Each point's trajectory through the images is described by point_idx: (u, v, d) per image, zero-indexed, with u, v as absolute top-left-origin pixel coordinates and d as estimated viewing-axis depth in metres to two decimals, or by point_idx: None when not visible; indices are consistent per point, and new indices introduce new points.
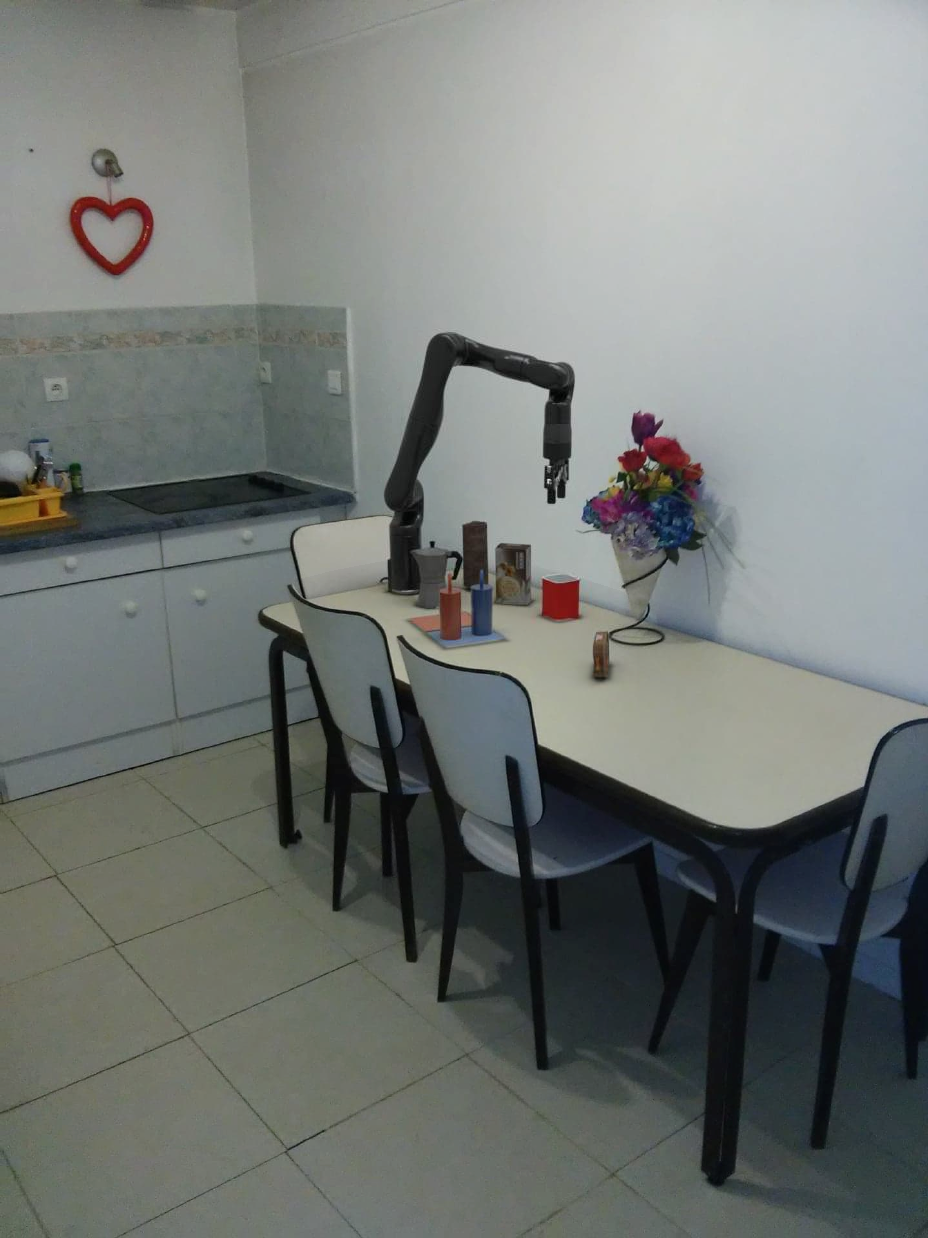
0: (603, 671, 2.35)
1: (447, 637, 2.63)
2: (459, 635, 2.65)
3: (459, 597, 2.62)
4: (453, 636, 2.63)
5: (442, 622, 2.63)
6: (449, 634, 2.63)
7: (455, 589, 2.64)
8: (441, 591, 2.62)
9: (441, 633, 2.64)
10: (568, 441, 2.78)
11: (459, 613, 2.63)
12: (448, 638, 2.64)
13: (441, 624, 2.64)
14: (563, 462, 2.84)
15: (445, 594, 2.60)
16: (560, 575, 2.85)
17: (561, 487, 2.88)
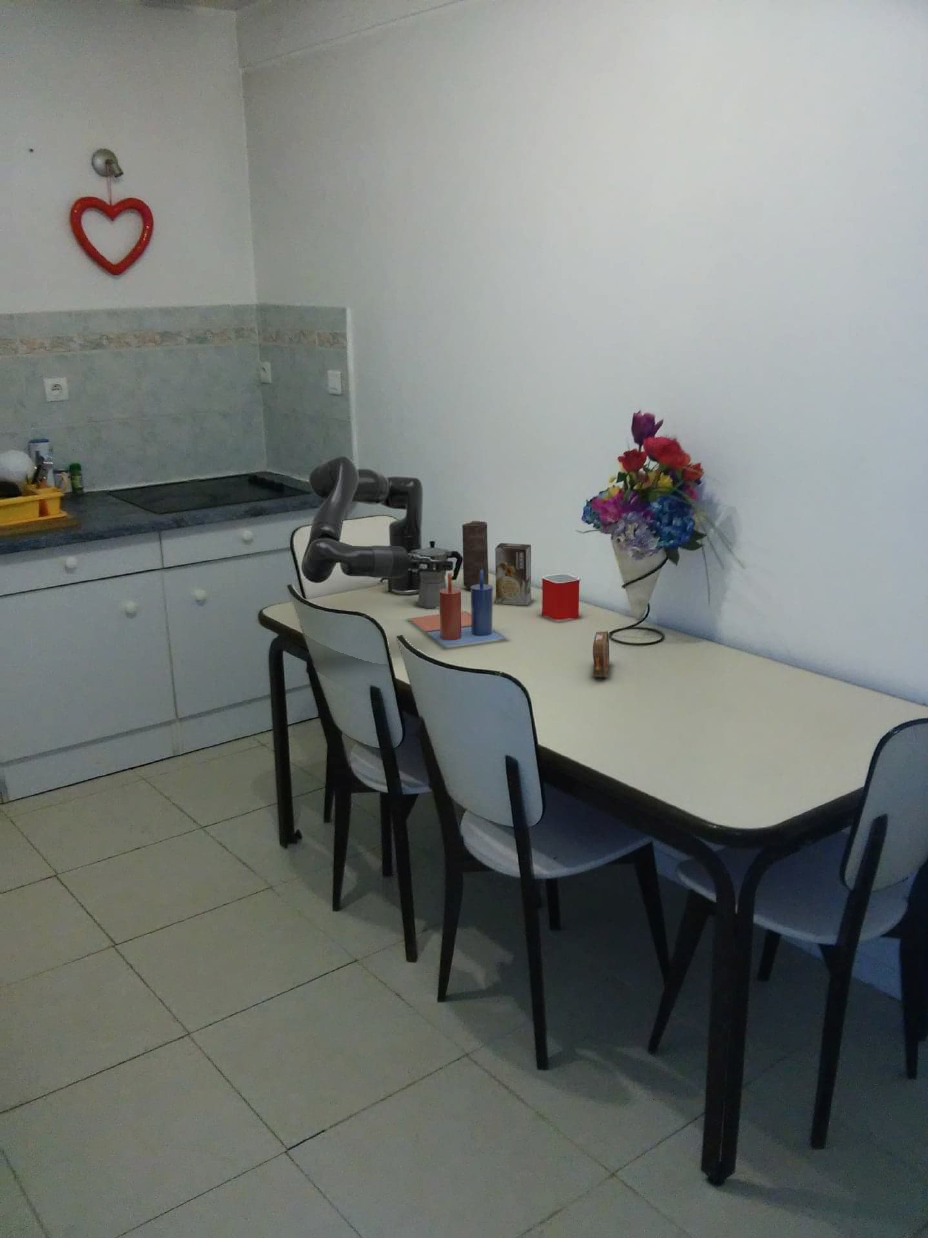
0: (603, 671, 2.35)
1: (447, 637, 2.63)
2: (459, 635, 2.65)
3: (459, 597, 2.62)
4: (453, 636, 2.63)
5: (442, 622, 2.63)
6: (449, 634, 2.63)
7: (455, 589, 2.64)
8: (441, 591, 2.62)
9: (441, 633, 2.64)
10: None
11: (459, 613, 2.63)
12: (448, 638, 2.64)
13: (441, 624, 2.64)
14: None
15: (445, 594, 2.60)
16: (560, 575, 2.85)
17: None
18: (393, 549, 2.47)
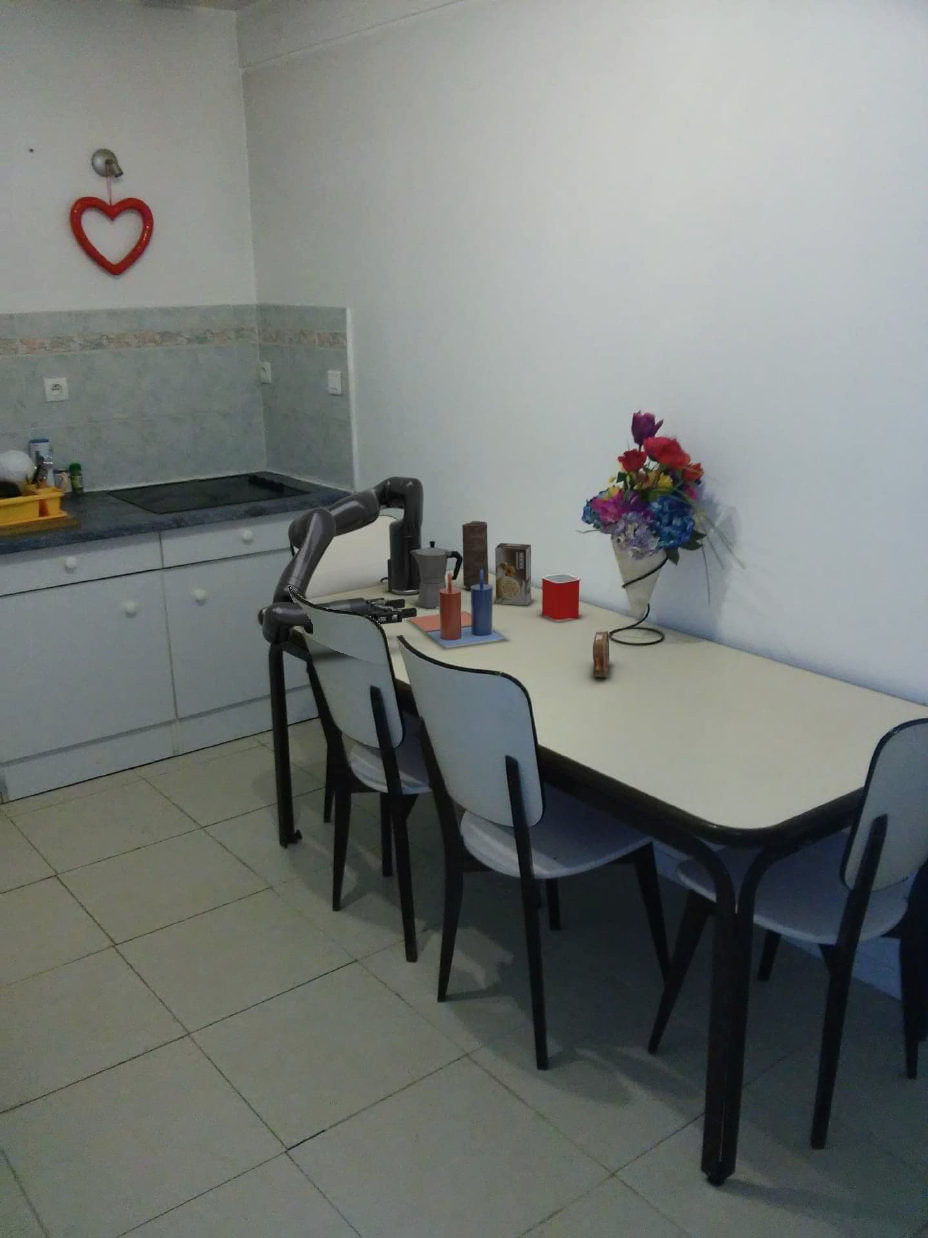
0: (603, 671, 2.35)
1: (447, 637, 2.63)
2: (459, 635, 2.65)
3: (459, 597, 2.62)
4: (453, 636, 2.63)
5: (442, 622, 2.63)
6: (449, 634, 2.63)
7: (455, 589, 2.64)
8: (441, 591, 2.62)
9: (441, 633, 2.64)
10: None
11: (459, 613, 2.63)
12: (448, 638, 2.64)
13: (441, 624, 2.64)
14: None
15: (445, 594, 2.60)
16: (560, 575, 2.85)
17: None
18: (352, 603, 2.52)
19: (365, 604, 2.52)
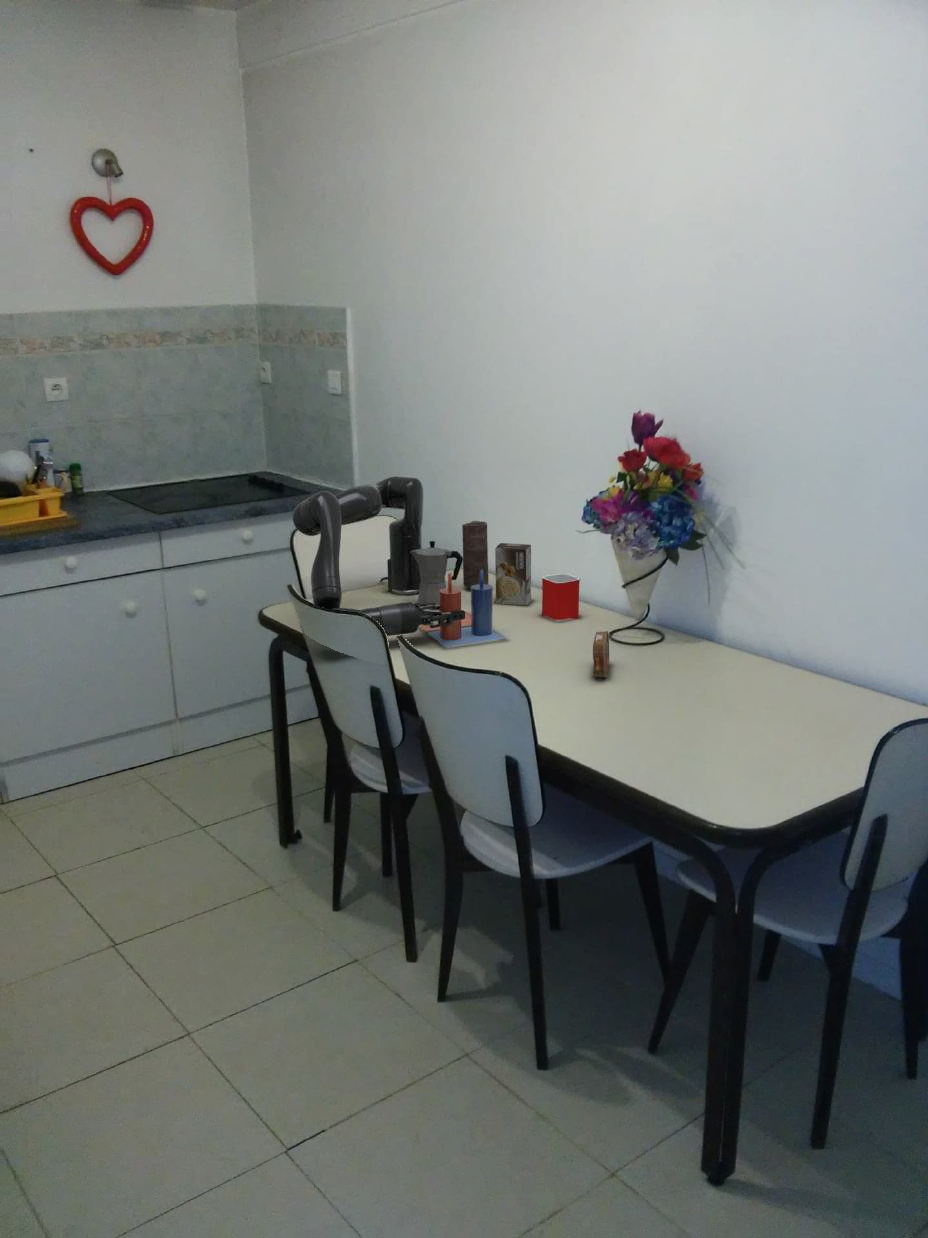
0: (603, 671, 2.35)
1: (447, 637, 2.63)
2: (459, 635, 2.65)
3: (459, 597, 2.62)
4: (453, 636, 2.63)
5: None
6: (449, 634, 2.63)
7: (455, 589, 2.64)
8: (441, 591, 2.62)
9: (441, 633, 2.64)
10: None
11: None
12: (448, 638, 2.64)
13: None
14: None
15: (445, 594, 2.60)
16: (560, 575, 2.85)
17: None
18: (402, 608, 2.57)
19: (414, 609, 2.58)
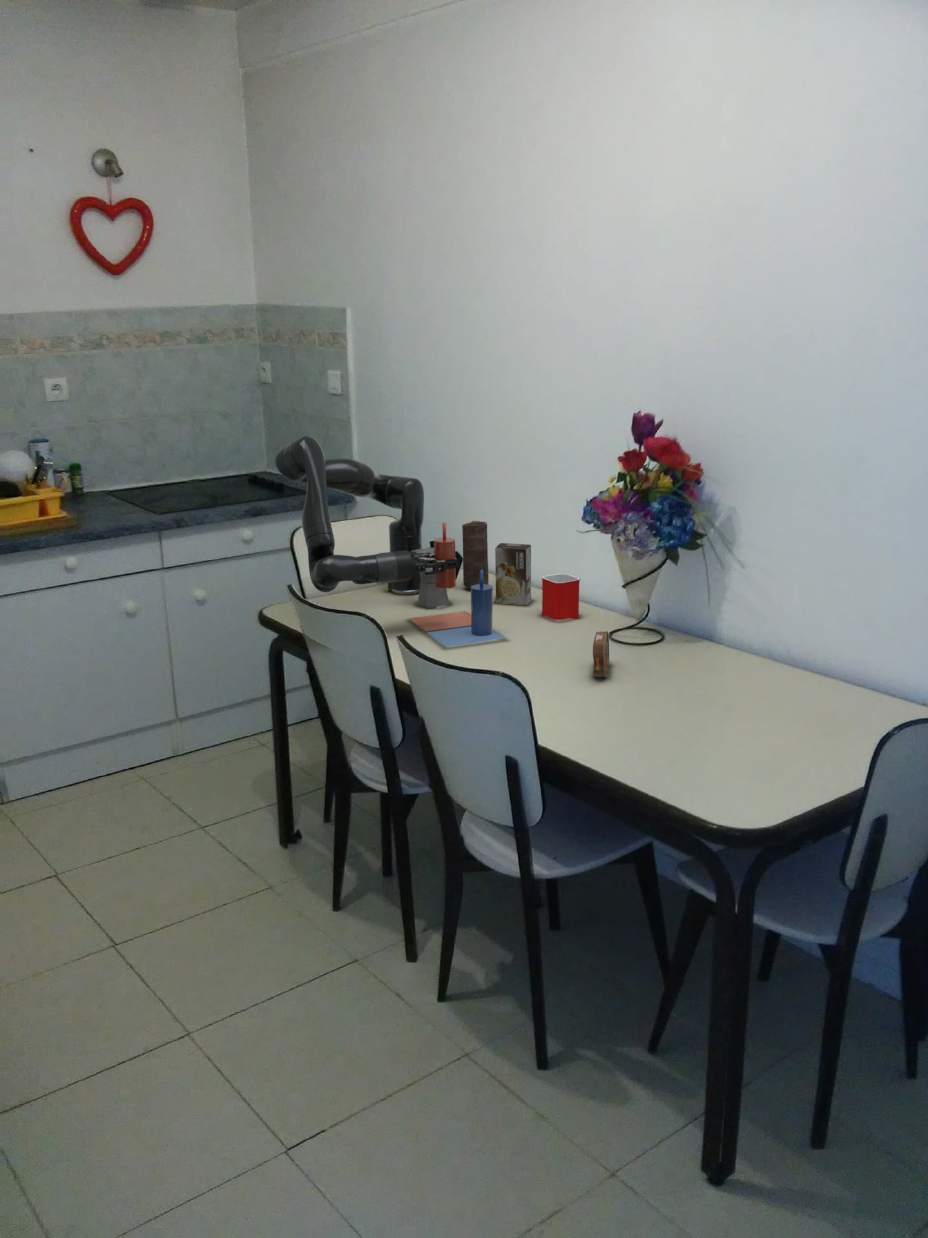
0: (603, 671, 2.35)
1: (441, 585, 2.70)
2: (453, 583, 2.71)
3: (453, 546, 2.68)
4: (448, 584, 2.70)
5: None
6: (444, 582, 2.69)
7: (449, 538, 2.70)
8: (436, 540, 2.68)
9: (436, 581, 2.71)
10: None
11: None
12: (442, 586, 2.70)
13: None
14: None
15: (439, 542, 2.67)
16: (560, 575, 2.85)
17: None
18: (397, 555, 2.63)
19: (410, 556, 2.64)
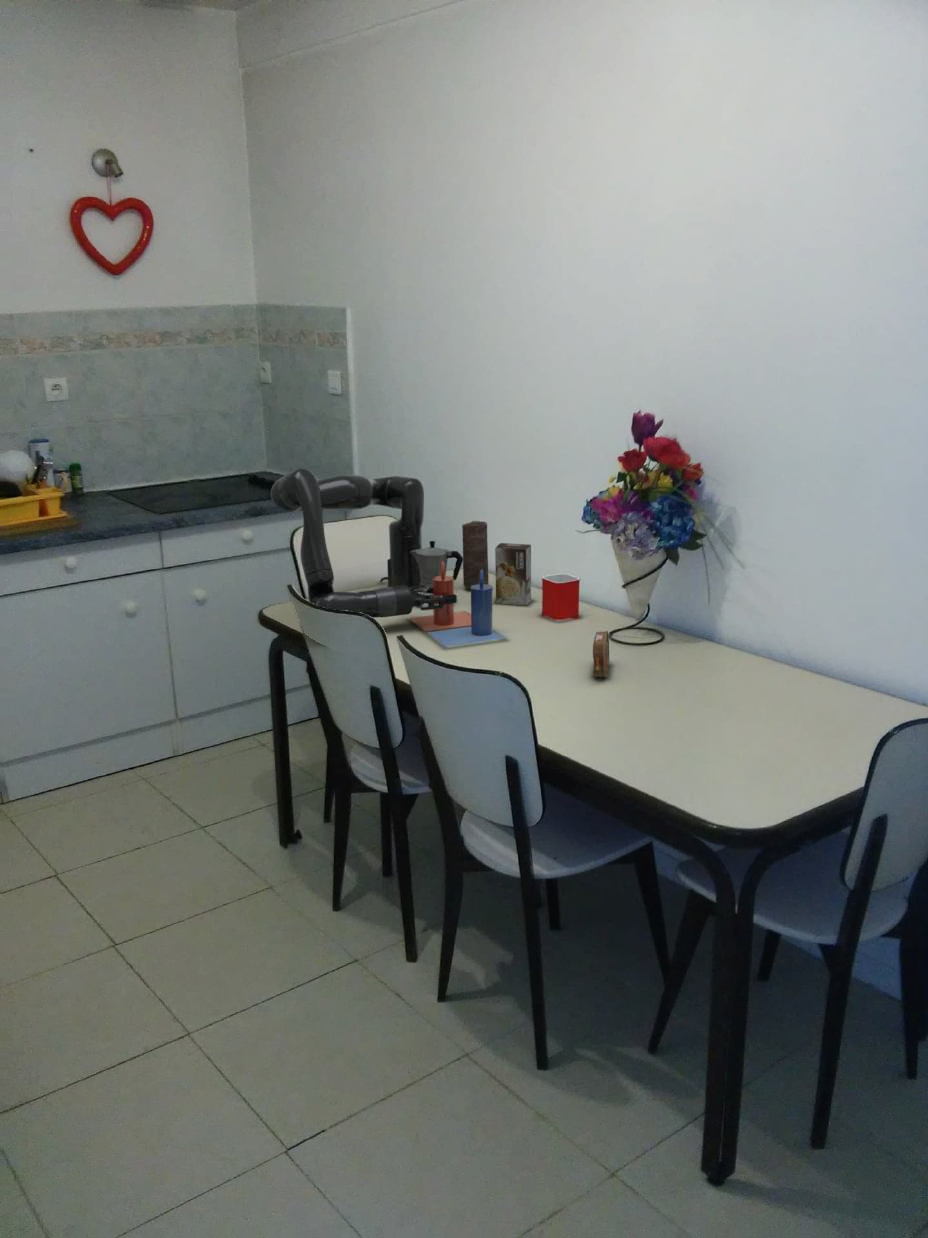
0: (603, 671, 2.35)
1: (440, 622, 2.75)
2: (452, 621, 2.76)
3: (452, 584, 2.73)
4: (446, 621, 2.75)
5: None
6: (442, 619, 2.75)
7: (448, 577, 2.75)
8: (434, 578, 2.74)
9: (434, 619, 2.76)
10: None
11: None
12: (441, 624, 2.75)
13: (434, 610, 2.75)
14: None
15: (438, 581, 2.72)
16: (560, 575, 2.85)
17: None
18: (397, 590, 2.68)
19: (409, 591, 2.69)
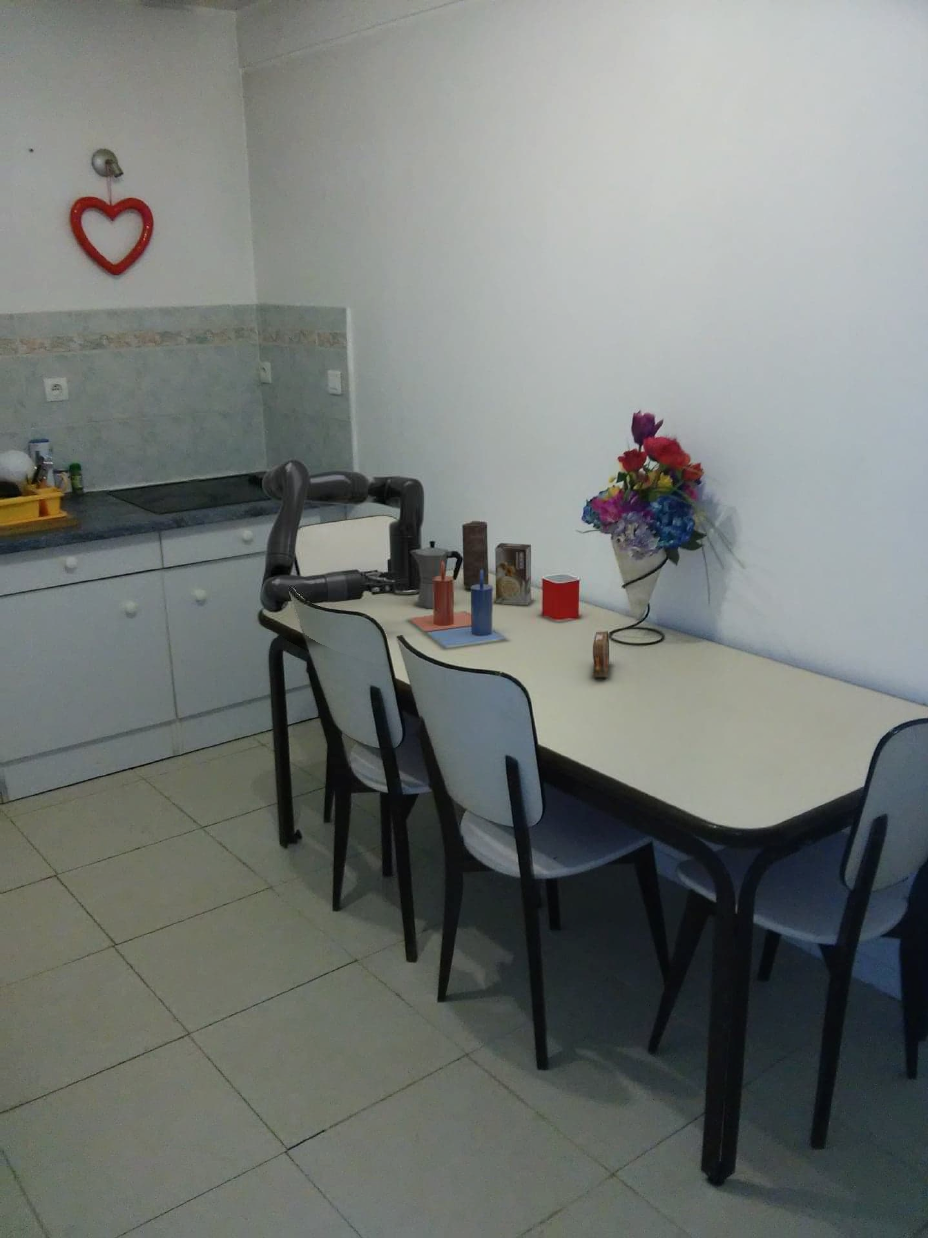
0: (603, 671, 2.35)
1: (440, 622, 2.75)
2: (452, 621, 2.76)
3: (452, 584, 2.73)
4: (446, 621, 2.75)
5: (435, 608, 2.75)
6: (442, 619, 2.75)
7: (448, 577, 2.75)
8: (434, 578, 2.74)
9: (434, 619, 2.76)
10: None
11: (452, 600, 2.75)
12: (441, 624, 2.75)
13: (434, 610, 2.75)
14: None
15: (438, 581, 2.72)
16: (560, 575, 2.85)
17: None
18: (347, 575, 2.62)
19: (359, 575, 2.63)
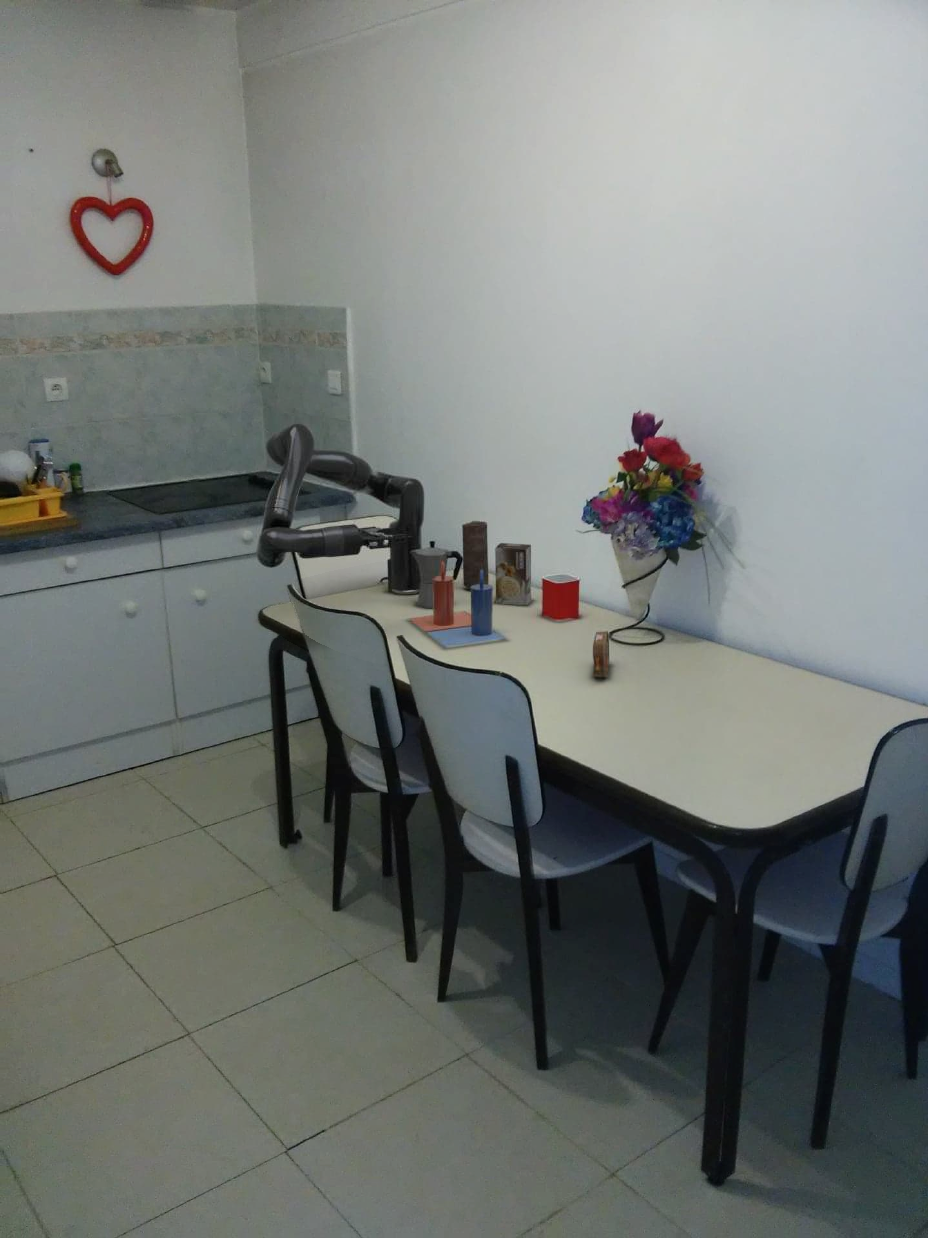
0: (603, 671, 2.35)
1: (440, 622, 2.75)
2: (452, 621, 2.76)
3: (452, 584, 2.73)
4: (446, 621, 2.75)
5: (435, 608, 2.75)
6: (442, 619, 2.75)
7: (448, 577, 2.75)
8: (434, 578, 2.74)
9: (434, 619, 2.76)
10: None
11: (452, 600, 2.75)
12: (441, 624, 2.75)
13: (434, 610, 2.75)
14: None
15: (438, 581, 2.72)
16: (560, 575, 2.85)
17: None
18: (344, 529, 2.59)
19: (357, 530, 2.59)
